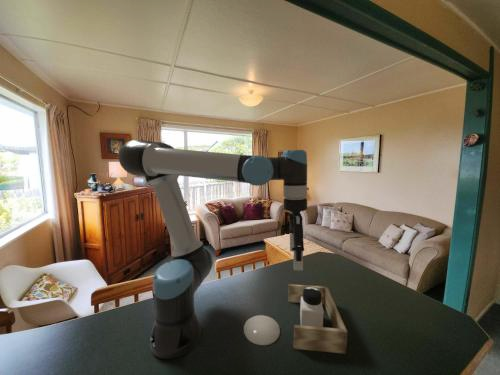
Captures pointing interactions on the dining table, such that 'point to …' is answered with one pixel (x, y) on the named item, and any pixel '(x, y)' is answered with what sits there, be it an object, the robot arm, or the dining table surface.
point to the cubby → (319, 336)
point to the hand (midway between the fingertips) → (295, 259)
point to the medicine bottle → (311, 308)
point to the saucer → (261, 330)
